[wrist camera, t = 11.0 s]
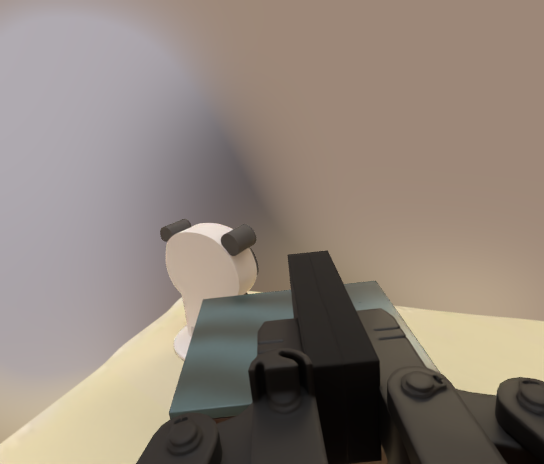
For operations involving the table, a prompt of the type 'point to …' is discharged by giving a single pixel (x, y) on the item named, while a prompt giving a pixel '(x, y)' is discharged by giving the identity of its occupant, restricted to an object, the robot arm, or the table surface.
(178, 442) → the robot arm
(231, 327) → the lid
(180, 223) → the panda figurine
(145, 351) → the table surface
